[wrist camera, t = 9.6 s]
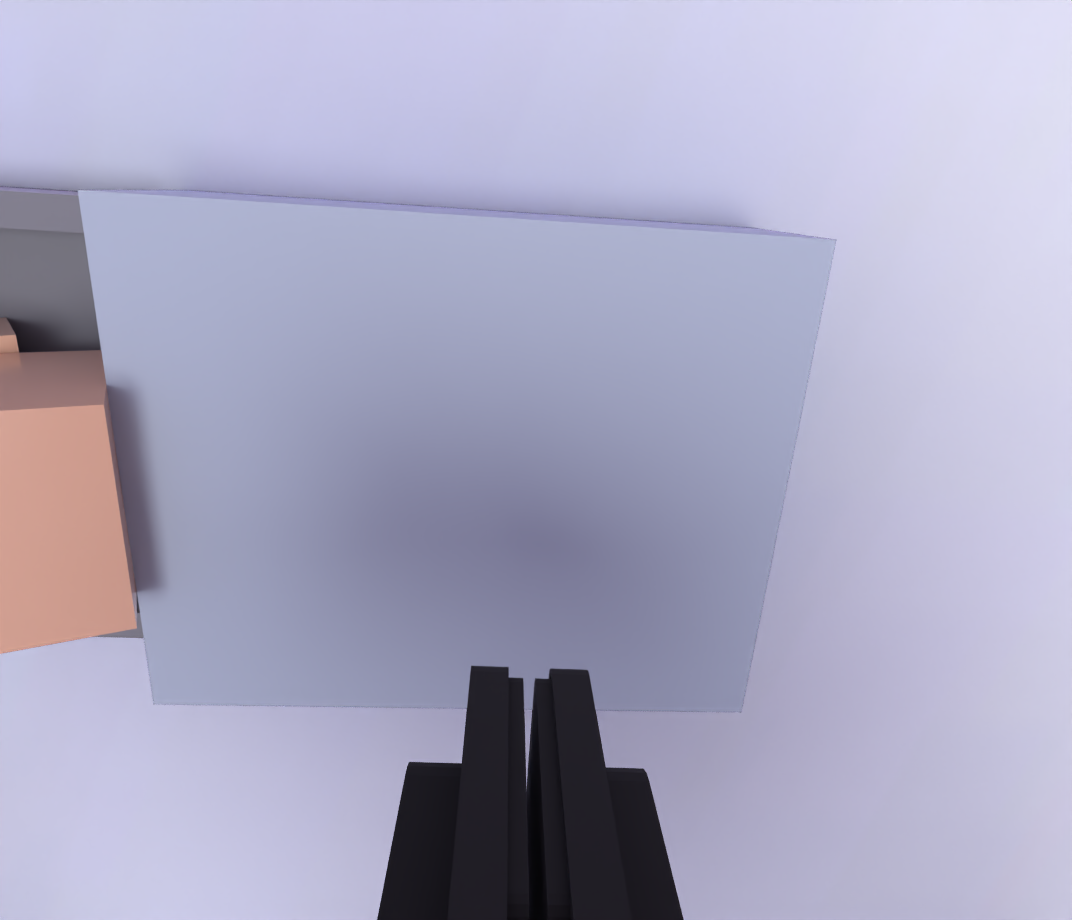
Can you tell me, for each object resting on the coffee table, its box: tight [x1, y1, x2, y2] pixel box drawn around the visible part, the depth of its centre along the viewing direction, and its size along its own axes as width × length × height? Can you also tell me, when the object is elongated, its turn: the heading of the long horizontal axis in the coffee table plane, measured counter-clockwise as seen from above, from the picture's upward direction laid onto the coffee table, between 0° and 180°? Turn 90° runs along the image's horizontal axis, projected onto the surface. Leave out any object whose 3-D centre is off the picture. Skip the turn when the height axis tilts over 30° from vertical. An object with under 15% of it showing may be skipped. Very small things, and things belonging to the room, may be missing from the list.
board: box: [78, 190, 836, 712], centre depth 19 cm, size 15×12×5 cm
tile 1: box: [0, 350, 137, 654], centre depth 16 cm, size 5×5×2 cm
